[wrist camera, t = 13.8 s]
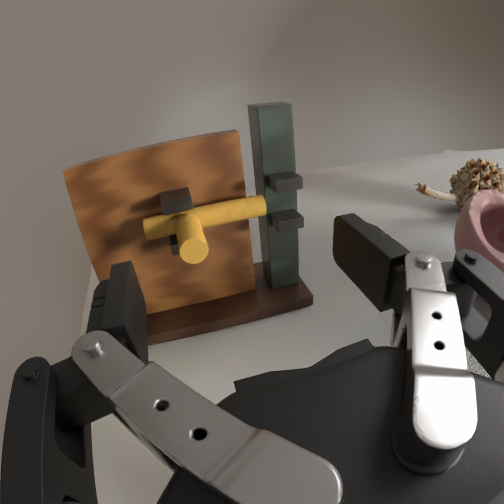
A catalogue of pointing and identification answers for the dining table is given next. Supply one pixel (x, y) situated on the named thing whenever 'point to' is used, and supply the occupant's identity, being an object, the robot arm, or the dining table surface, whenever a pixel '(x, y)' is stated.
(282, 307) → the door
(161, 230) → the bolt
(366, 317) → the dining table surface
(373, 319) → the dining table surface
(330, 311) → the dining table surface
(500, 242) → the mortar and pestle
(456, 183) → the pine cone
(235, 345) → the dining table surface
